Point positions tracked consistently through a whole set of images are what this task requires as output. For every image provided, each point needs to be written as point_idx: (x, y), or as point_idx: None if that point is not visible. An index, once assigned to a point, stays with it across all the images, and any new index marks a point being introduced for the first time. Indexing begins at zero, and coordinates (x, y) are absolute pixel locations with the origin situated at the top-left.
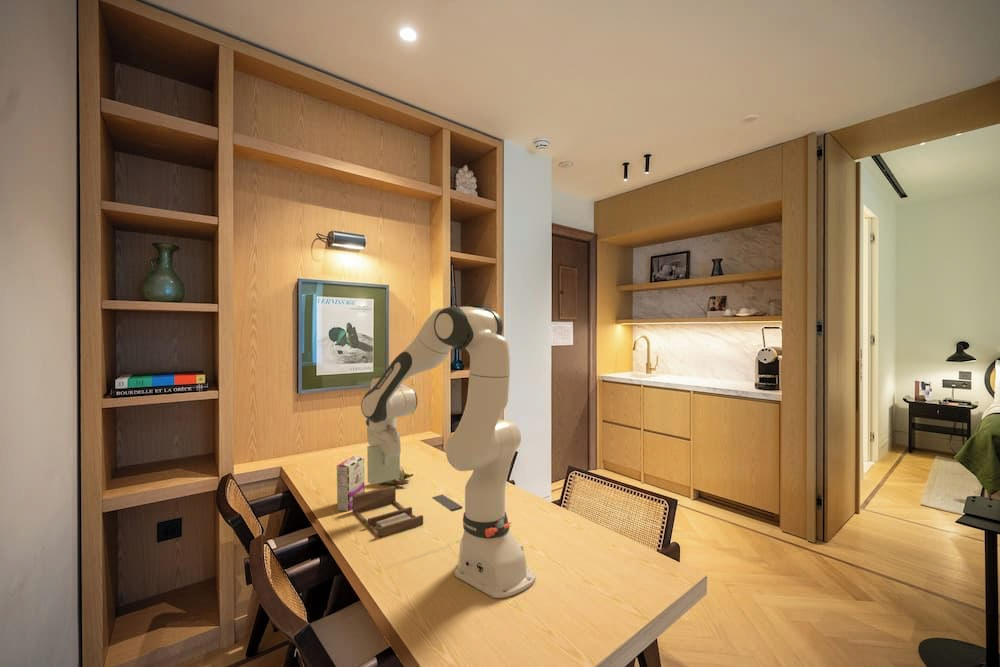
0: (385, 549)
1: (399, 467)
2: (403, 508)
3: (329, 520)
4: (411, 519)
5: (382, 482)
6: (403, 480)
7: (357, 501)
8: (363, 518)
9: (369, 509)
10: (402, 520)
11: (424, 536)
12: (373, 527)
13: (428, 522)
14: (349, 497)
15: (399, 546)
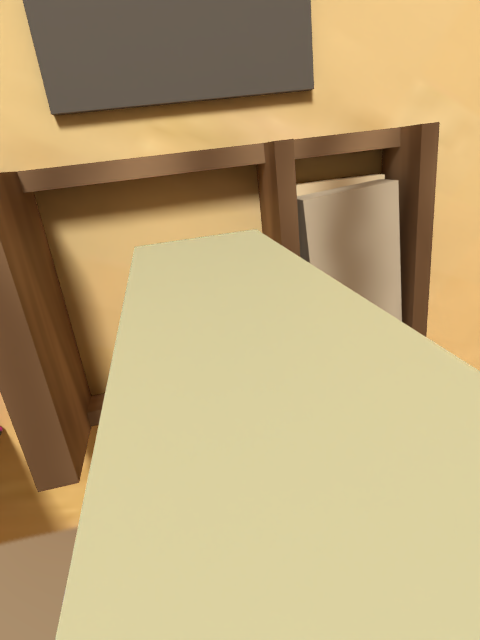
0: (452, 335)
1: (299, 259)
2: (178, 163)
3: (80, 504)
4: (433, 203)
5: None
6: None
7: (79, 444)
8: None
9: (70, 345)
10: (383, 241)
11: (466, 156)
12: None
13: (354, 67)
14: None
15: (467, 283)
